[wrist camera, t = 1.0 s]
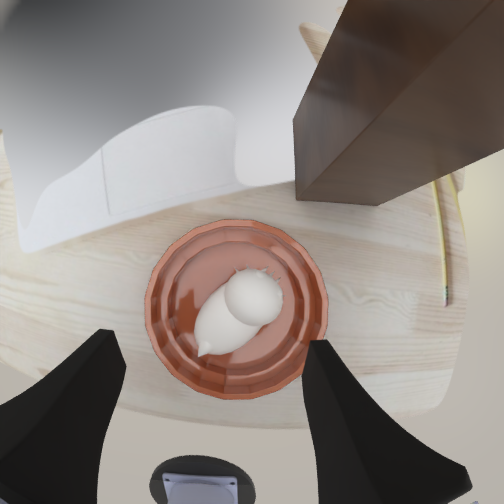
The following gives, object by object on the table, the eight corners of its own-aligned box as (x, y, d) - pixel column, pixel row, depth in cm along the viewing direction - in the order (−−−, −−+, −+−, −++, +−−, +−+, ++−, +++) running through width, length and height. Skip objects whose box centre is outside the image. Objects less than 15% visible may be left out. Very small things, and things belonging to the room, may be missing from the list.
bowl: (309, 377, 23) (323, 394, 19) (160, 378, 22) (150, 395, 18) (313, 229, 24) (328, 222, 20) (158, 227, 23) (146, 218, 19)
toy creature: (290, 290, 23) (313, 296, 17) (224, 362, 22) (223, 393, 16) (248, 251, 23) (256, 244, 16) (181, 325, 22) (164, 344, 16)
